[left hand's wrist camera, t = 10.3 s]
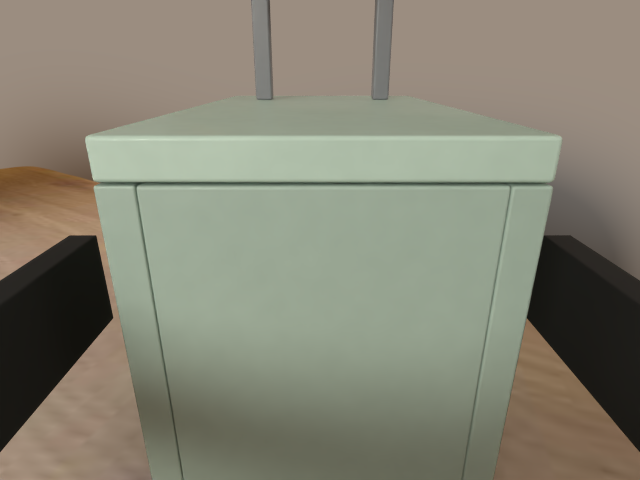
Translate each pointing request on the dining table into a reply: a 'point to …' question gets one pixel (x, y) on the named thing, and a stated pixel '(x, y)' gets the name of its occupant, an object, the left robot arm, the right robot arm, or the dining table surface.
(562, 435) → the dining table surface
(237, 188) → the chest
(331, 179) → the lid
